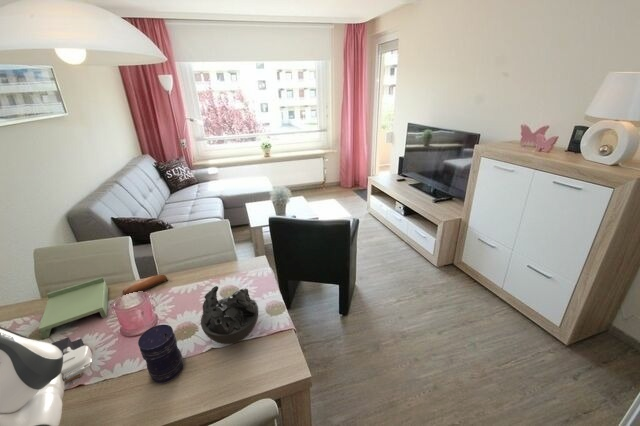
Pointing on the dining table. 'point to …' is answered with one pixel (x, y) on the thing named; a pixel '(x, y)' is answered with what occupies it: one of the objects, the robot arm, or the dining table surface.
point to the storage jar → (161, 353)
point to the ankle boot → (73, 345)
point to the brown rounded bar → (145, 284)
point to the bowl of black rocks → (229, 316)
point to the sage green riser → (74, 304)
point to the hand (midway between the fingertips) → (46, 359)
